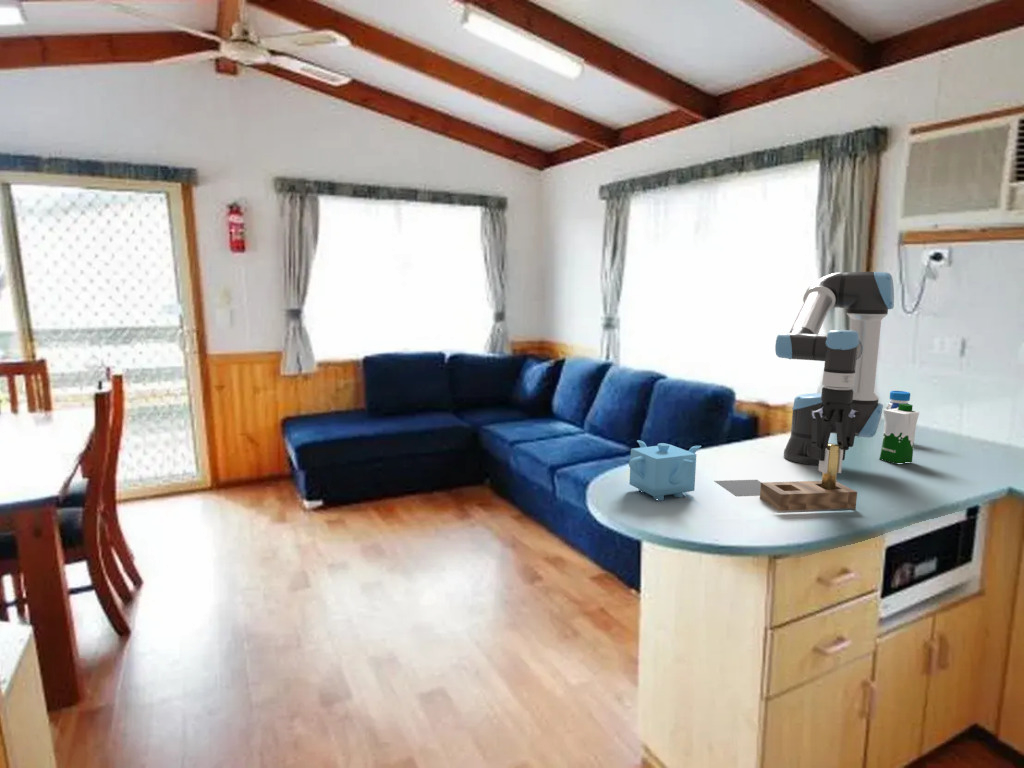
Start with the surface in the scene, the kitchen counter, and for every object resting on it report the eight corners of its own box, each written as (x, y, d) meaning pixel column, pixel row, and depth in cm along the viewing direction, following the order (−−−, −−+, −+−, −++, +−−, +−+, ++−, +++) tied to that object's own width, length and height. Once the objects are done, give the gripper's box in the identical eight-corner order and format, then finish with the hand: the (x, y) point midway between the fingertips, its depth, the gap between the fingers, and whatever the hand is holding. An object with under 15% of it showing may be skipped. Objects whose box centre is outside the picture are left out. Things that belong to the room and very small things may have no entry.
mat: (756, 481, 188) (756, 479, 188) (782, 496, 174) (782, 494, 174) (713, 482, 186) (713, 480, 186) (736, 497, 172) (736, 496, 172)
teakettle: (623, 499, 170) (625, 448, 168) (635, 480, 187) (637, 433, 185) (693, 508, 163) (696, 455, 161) (698, 487, 181) (701, 439, 178)
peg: (830, 485, 169) (834, 443, 167) (838, 489, 166) (842, 446, 164) (818, 485, 169) (822, 443, 167) (826, 489, 165) (830, 446, 164)
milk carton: (916, 463, 210) (923, 406, 207) (898, 465, 206) (905, 408, 203) (891, 456, 218) (898, 402, 215) (874, 459, 214) (880, 403, 211)
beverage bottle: (886, 438, 246) (891, 389, 243) (910, 441, 240) (916, 392, 237) (879, 441, 240) (884, 391, 237) (903, 445, 234) (909, 394, 231)
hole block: (831, 497, 174) (833, 480, 173) (855, 509, 164) (857, 491, 163) (759, 499, 171) (760, 482, 170) (779, 512, 161) (780, 494, 160)
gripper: (818, 390, 158) (810, 476, 162) (875, 389, 161) (866, 475, 164) (801, 385, 166) (793, 468, 169) (856, 385, 168) (848, 467, 171)
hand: (829, 471), depth 167 cm, fingers closed on peg, 3 cm apart
